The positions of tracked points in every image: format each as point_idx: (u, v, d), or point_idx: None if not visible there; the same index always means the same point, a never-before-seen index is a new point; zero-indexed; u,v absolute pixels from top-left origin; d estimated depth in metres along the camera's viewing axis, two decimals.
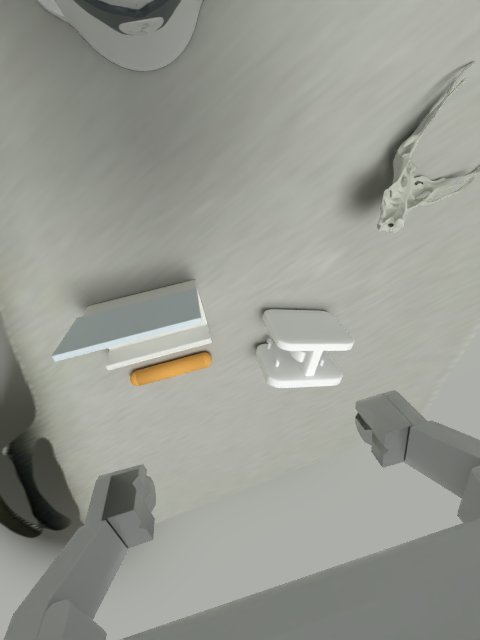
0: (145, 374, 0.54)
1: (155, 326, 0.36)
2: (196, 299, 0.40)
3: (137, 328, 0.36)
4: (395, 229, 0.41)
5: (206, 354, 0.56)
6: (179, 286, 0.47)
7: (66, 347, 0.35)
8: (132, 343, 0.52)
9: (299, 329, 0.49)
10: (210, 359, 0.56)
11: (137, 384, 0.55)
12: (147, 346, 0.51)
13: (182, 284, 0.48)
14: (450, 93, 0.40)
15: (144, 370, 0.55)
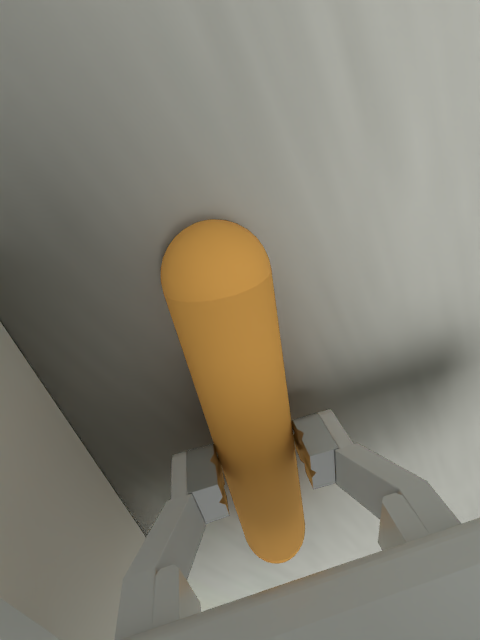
0: (248, 532, 0.12)
1: None
2: None
3: None
4: None
5: None
6: None
7: None
8: None
9: None
10: (194, 240, 0.07)
11: (289, 557, 0.13)
12: None
13: None
14: None
15: None
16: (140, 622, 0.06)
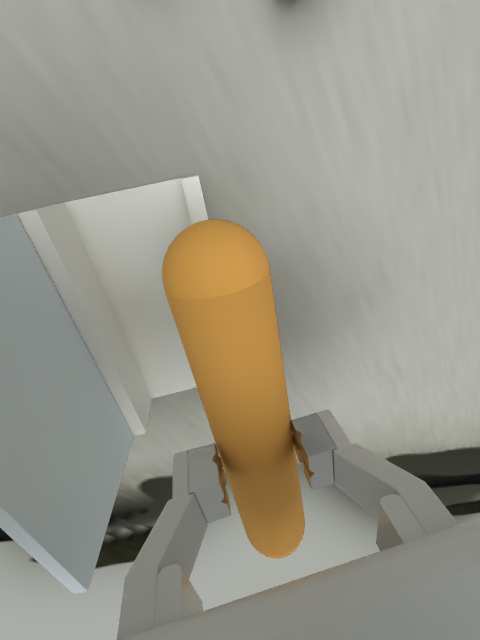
0: (249, 527, 0.13)
1: None
2: None
3: None
4: None
5: None
6: None
7: None
8: None
9: None
10: (195, 240, 0.07)
11: (289, 551, 0.13)
12: None
13: None
14: None
15: (239, 511, 0.13)
16: (142, 621, 0.06)
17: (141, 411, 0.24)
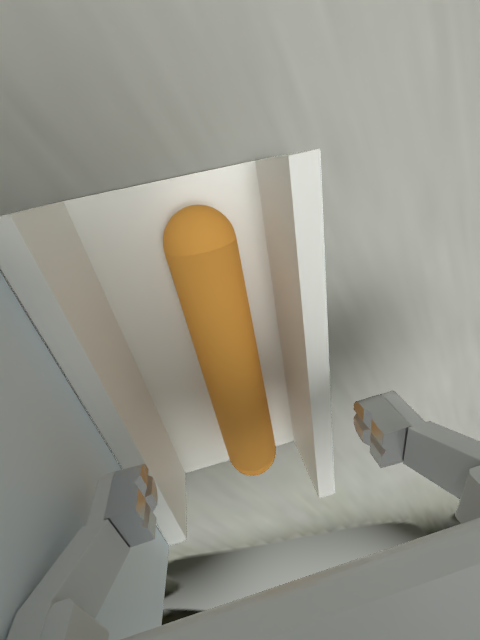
0: (229, 446, 0.16)
1: None
2: None
3: None
4: None
5: (164, 232, 0.11)
6: None
7: None
8: (284, 399, 0.19)
9: None
10: (183, 217, 0.11)
11: (261, 469, 0.17)
12: (294, 384, 0.16)
13: None
14: None
15: (223, 437, 0.17)
16: None
17: (179, 507, 0.17)
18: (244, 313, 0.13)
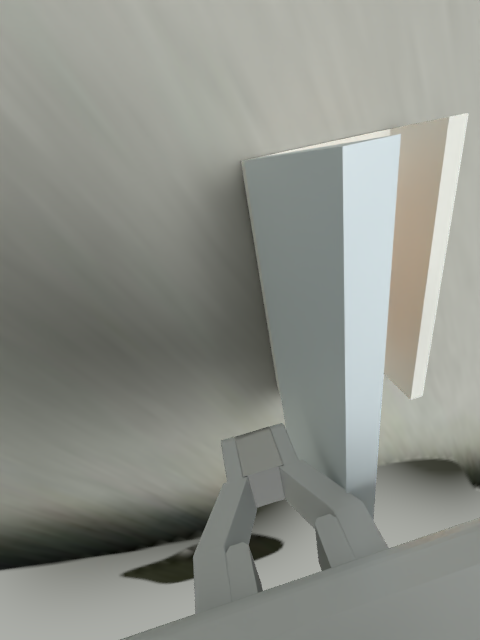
0: None
1: (332, 409, 0.07)
2: (262, 162, 0.09)
3: (324, 443, 0.09)
4: None
5: None
6: None
7: None
8: None
9: None
10: None
11: None
12: (396, 306, 0.21)
13: (249, 200, 0.17)
14: None
15: None
16: (218, 596, 0.06)
17: None
18: None
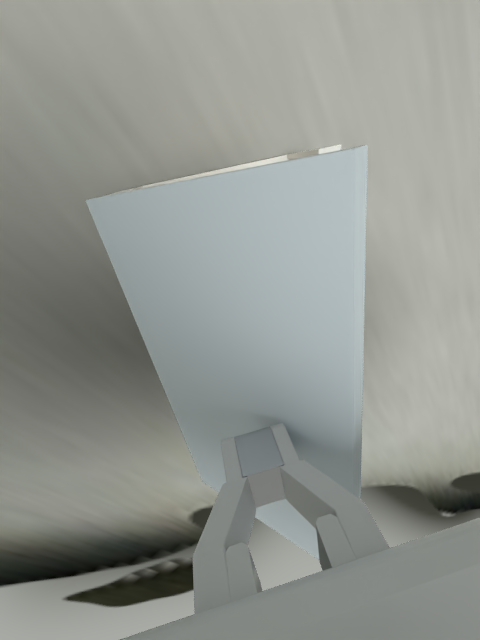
0: None
1: (327, 380, 0.08)
2: (156, 191, 0.09)
3: (308, 426, 0.10)
4: None
5: None
6: None
7: None
8: None
9: None
10: None
11: None
12: None
13: None
14: None
15: None
16: (217, 596, 0.06)
17: None
18: None
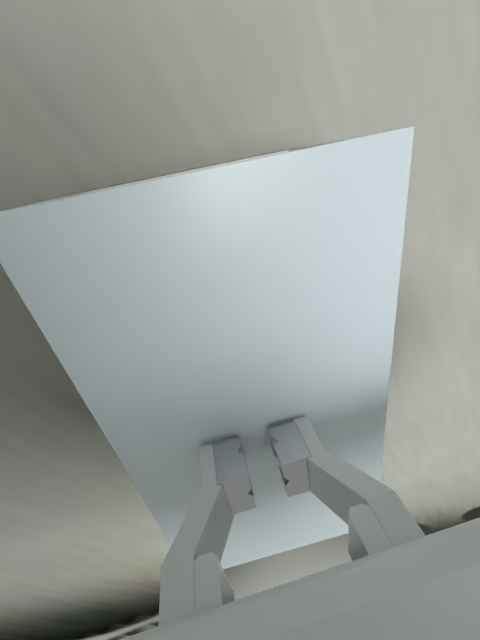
0: None
1: (373, 336, 0.09)
2: (173, 182, 0.06)
3: (349, 394, 0.10)
4: None
5: None
6: None
7: None
8: None
9: None
10: None
11: None
12: None
13: None
14: None
15: None
16: (183, 608, 0.06)
17: None
18: None
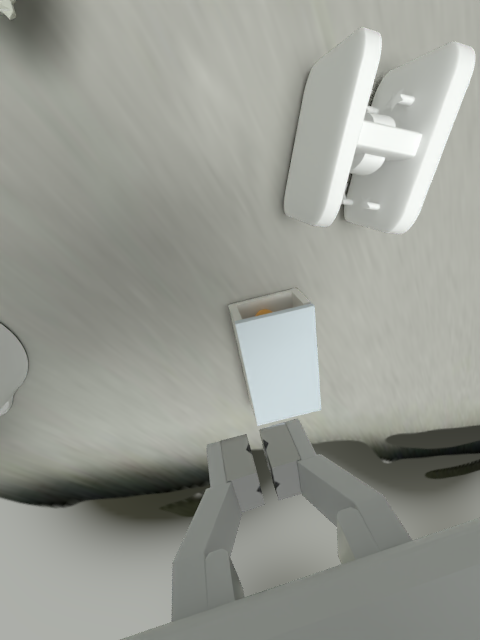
0: None
1: (311, 344, 0.38)
2: (269, 317, 0.35)
3: (307, 360, 0.39)
4: None
5: None
6: (233, 326, 0.40)
7: (312, 405, 0.43)
8: None
9: (312, 171, 0.27)
10: (258, 313, 0.39)
11: None
12: None
13: None
14: None
15: None
16: (195, 604, 0.06)
17: None
18: None
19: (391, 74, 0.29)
